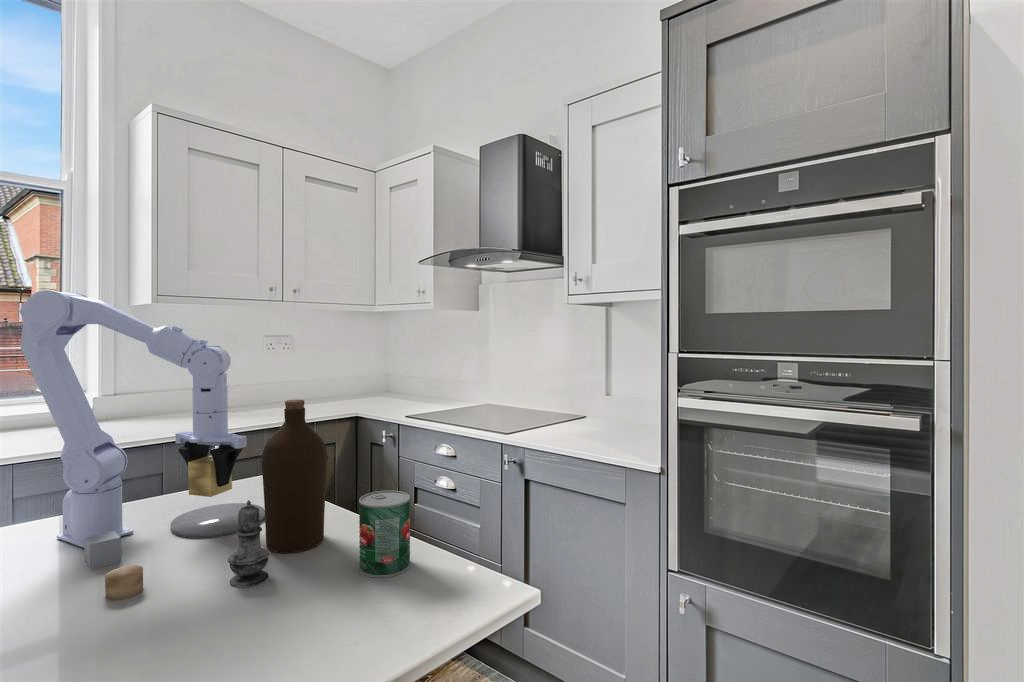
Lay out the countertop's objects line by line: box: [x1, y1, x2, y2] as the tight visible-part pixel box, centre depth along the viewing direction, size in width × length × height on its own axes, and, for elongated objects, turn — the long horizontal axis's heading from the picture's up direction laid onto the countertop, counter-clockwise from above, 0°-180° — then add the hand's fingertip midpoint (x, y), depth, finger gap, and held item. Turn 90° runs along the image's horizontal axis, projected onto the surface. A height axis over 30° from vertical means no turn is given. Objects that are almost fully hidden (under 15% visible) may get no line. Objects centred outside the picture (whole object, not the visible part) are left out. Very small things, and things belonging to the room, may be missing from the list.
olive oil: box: [261, 399, 328, 554], centre depth 95 cm, size 11×11×25 cm
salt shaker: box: [226, 499, 271, 589], centre depth 82 cm, size 6×6×12 cm
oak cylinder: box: [104, 564, 144, 601], centre depth 78 cm, size 4×4×3 cm
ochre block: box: [187, 455, 233, 498], centre depth 102 cm, size 5×5×6 cm
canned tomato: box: [358, 489, 411, 579], centre depth 86 cm, size 8×8×11 cm
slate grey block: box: [83, 531, 122, 570], centre depth 88 cm, size 4×4×4 cm
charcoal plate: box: [170, 502, 265, 539], centre depth 105 cm, size 16×16×1 cm
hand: (211, 483), depth 102 cm, fingers closed on ochre block, 5 cm apart
